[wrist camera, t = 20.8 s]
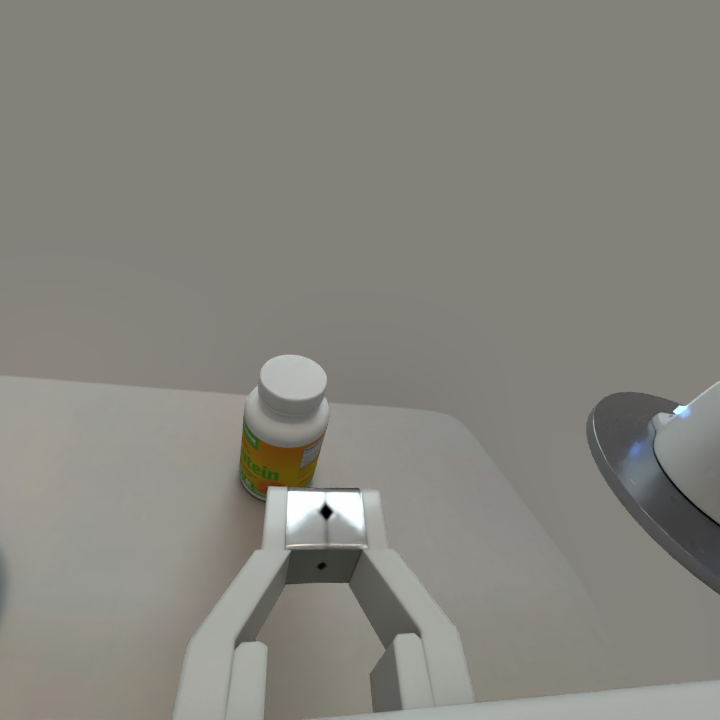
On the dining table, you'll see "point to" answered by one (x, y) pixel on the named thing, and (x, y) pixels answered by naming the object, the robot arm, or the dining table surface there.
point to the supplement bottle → (284, 425)
